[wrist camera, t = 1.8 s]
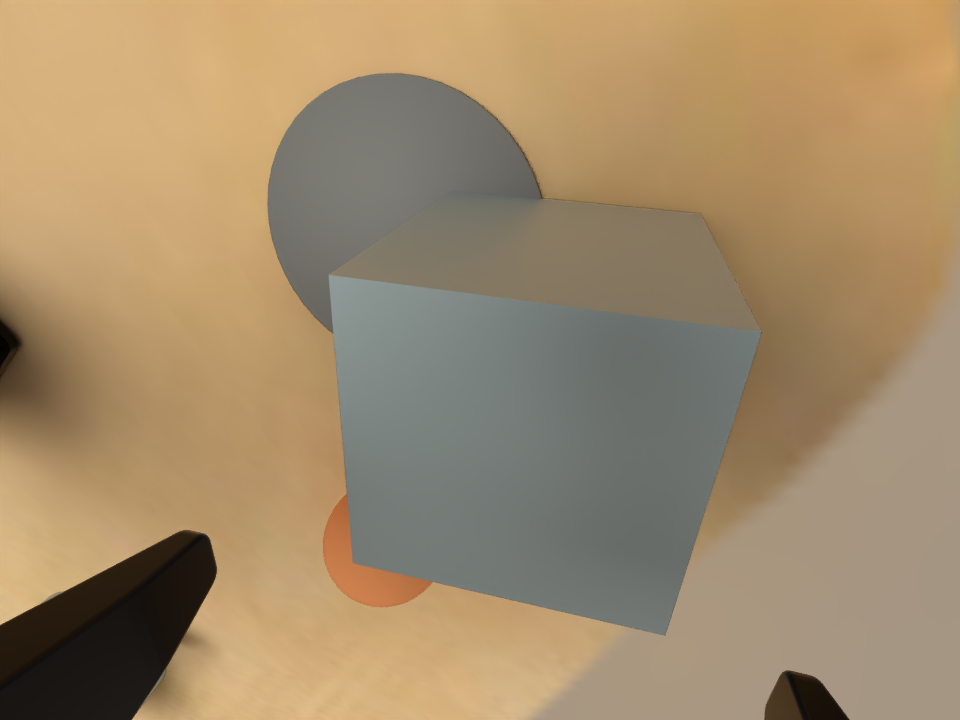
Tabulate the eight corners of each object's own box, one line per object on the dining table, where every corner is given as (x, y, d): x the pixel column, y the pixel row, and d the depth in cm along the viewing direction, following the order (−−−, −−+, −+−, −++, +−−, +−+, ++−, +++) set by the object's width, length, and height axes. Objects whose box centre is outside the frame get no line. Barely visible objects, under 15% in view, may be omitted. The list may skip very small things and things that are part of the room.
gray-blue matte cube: (650, 424, 20) (665, 635, 13) (448, 391, 22) (352, 563, 14) (700, 213, 17) (761, 331, 9) (453, 189, 18) (328, 274, 10)
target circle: (405, 407, 23) (403, 409, 22) (221, 214, 20) (217, 216, 20) (609, 259, 18) (609, 261, 18) (397, -8, 16) (395, -9, 16)
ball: (408, 556, 27) (365, 650, 22) (334, 484, 26) (274, 568, 21) (483, 515, 24) (453, 612, 20) (405, 435, 23) (355, 518, 19)
